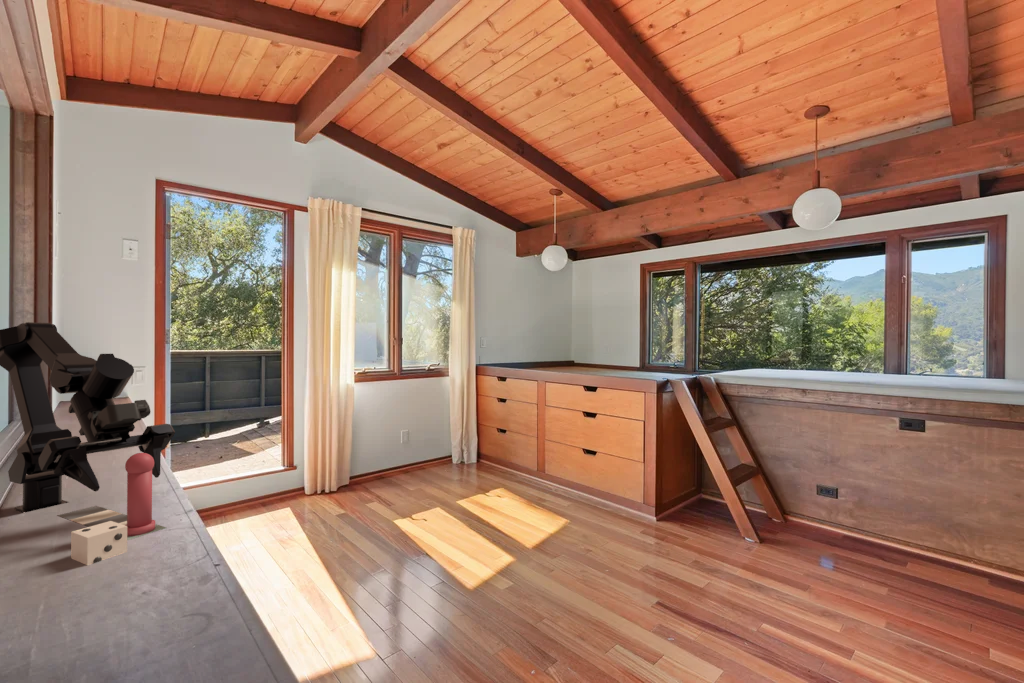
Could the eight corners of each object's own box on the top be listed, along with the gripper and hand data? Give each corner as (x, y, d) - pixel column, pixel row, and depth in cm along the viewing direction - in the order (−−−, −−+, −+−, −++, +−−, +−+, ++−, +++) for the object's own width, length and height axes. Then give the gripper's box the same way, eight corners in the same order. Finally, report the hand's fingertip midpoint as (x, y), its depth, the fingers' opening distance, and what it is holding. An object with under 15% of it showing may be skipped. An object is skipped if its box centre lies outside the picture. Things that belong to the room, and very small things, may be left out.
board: (54, 521, 89) (54, 516, 89) (98, 510, 95) (98, 505, 95) (124, 547, 78) (124, 541, 78) (169, 532, 84) (169, 526, 84)
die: (71, 564, 72) (71, 531, 72) (110, 551, 76) (110, 520, 76) (87, 571, 70) (87, 537, 70) (127, 558, 74) (127, 525, 74)
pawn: (117, 533, 81) (118, 454, 81) (146, 524, 85) (147, 449, 85) (131, 538, 79) (132, 457, 79) (160, 528, 83) (161, 451, 83)
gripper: (47, 391, 78) (78, 467, 73) (170, 383, 95) (203, 444, 90) (25, 434, 81) (54, 509, 76) (148, 419, 98) (178, 479, 93)
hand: (129, 482), depth 84 cm, fingers open, 9 cm apart
